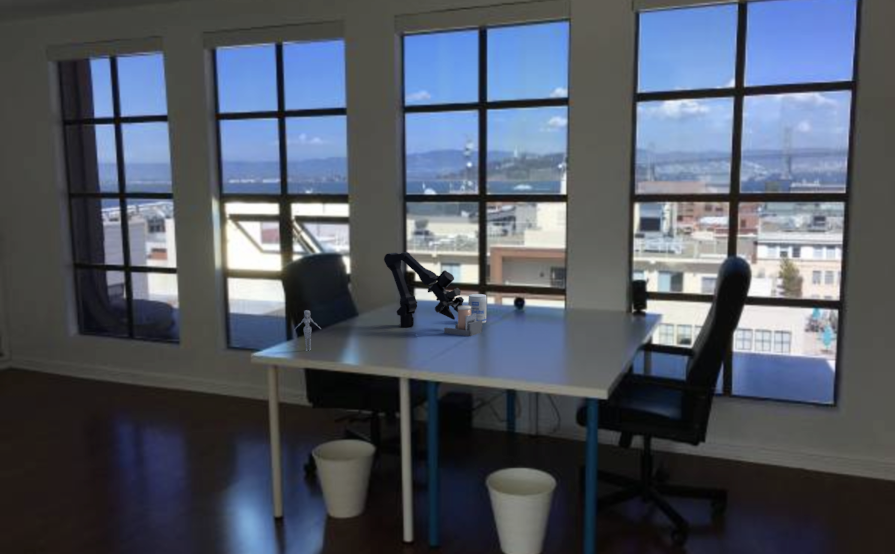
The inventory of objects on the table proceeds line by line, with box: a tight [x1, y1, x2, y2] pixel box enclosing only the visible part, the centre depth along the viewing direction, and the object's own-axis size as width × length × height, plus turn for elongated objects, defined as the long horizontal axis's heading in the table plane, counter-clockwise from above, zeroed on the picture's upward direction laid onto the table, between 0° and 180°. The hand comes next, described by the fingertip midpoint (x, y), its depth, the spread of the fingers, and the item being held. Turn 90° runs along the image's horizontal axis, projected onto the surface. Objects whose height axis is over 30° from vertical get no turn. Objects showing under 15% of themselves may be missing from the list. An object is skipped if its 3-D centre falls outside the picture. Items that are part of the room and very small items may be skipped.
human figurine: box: [293, 309, 322, 352], centre depth 315 cm, size 12×4×18 cm, turn 97°
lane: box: [443, 320, 483, 337], centre depth 347 cm, size 15×11×6 cm
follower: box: [465, 313, 476, 330], centre depth 344 cm, size 1×8×9 cm, turn 147°
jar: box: [457, 304, 471, 330], centre depth 346 cm, size 7×7×13 cm
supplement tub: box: [467, 293, 488, 324], centre depth 373 cm, size 10×10×15 cm
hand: (459, 317), depth 348 cm, fingers open, 9 cm apart
